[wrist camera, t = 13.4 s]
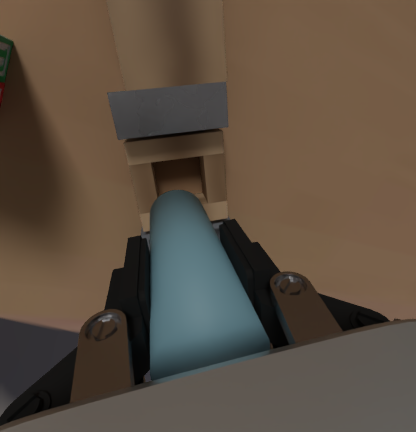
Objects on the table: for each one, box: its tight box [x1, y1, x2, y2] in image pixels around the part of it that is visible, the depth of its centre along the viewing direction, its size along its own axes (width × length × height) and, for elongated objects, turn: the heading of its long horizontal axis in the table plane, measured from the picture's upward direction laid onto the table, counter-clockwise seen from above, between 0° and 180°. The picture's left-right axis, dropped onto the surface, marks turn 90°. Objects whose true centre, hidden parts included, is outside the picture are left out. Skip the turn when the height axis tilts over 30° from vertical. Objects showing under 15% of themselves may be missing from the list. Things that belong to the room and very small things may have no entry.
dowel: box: [150, 190, 270, 381], centre depth 11 cm, size 3×3×10 cm
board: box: [106, 0, 227, 91], centre depth 19 cm, size 8×8×2 cm
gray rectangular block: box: [107, 82, 228, 140], centre depth 20 cm, size 8×3×5 cm, turn 95°
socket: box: [123, 128, 228, 232], centre depth 23 cm, size 8×8×3 cm
